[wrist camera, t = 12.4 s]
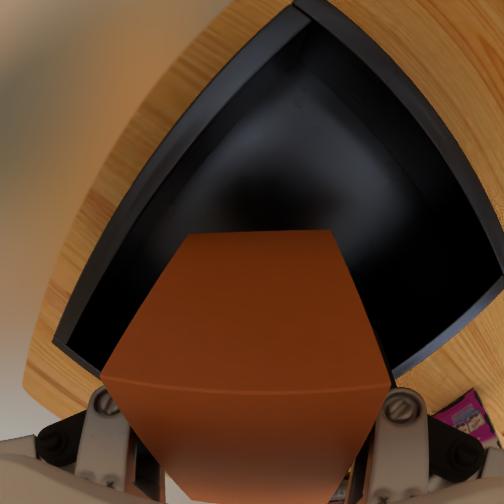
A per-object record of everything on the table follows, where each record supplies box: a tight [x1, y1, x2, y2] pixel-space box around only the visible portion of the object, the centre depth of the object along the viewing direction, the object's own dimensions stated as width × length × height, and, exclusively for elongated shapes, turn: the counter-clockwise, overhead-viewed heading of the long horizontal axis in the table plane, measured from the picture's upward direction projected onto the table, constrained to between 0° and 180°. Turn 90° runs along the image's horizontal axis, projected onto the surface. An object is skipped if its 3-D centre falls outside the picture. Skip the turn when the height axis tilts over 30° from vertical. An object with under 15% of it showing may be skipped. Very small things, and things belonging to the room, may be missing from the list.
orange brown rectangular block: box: [100, 230, 391, 504], centre depth 8 cm, size 7×4×6 cm, turn 4°
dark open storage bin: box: [52, 0, 504, 381], centre depth 13 cm, size 18×13×7 cm
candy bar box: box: [432, 389, 503, 449], centre depth 16 cm, size 11×5×16 cm, turn 137°
